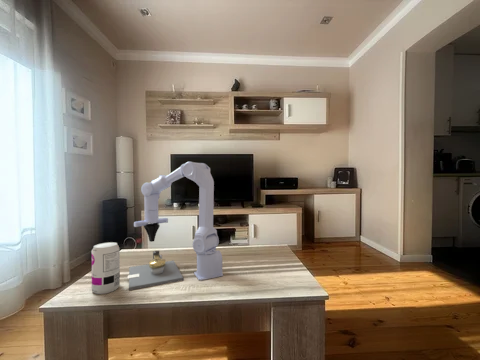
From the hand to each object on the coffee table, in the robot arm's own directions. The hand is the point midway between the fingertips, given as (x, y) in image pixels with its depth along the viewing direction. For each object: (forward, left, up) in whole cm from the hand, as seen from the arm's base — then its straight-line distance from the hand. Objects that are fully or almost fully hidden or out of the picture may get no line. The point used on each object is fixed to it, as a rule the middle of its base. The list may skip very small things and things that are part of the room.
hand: (151, 241), depth 102 cm
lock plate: (0, +12, -10) cm, 16 cm away
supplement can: (+16, +18, -11) cm, 26 cm away
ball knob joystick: (-1, +9, -7) cm, 11 cm away
